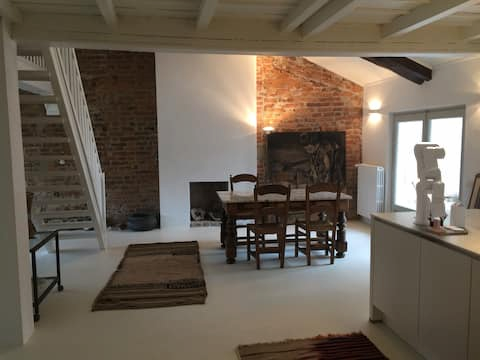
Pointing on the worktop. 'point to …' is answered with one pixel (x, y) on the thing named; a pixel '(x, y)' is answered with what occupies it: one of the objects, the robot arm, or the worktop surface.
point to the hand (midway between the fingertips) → (436, 226)
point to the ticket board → (449, 231)
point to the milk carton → (457, 214)
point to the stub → (436, 226)
